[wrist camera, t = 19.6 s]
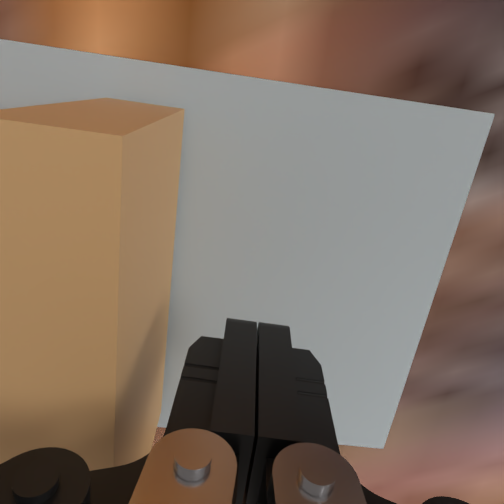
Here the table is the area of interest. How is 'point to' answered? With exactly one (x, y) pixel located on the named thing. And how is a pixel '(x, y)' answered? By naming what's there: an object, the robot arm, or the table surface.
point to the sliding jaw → (86, 275)
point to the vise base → (293, 213)
